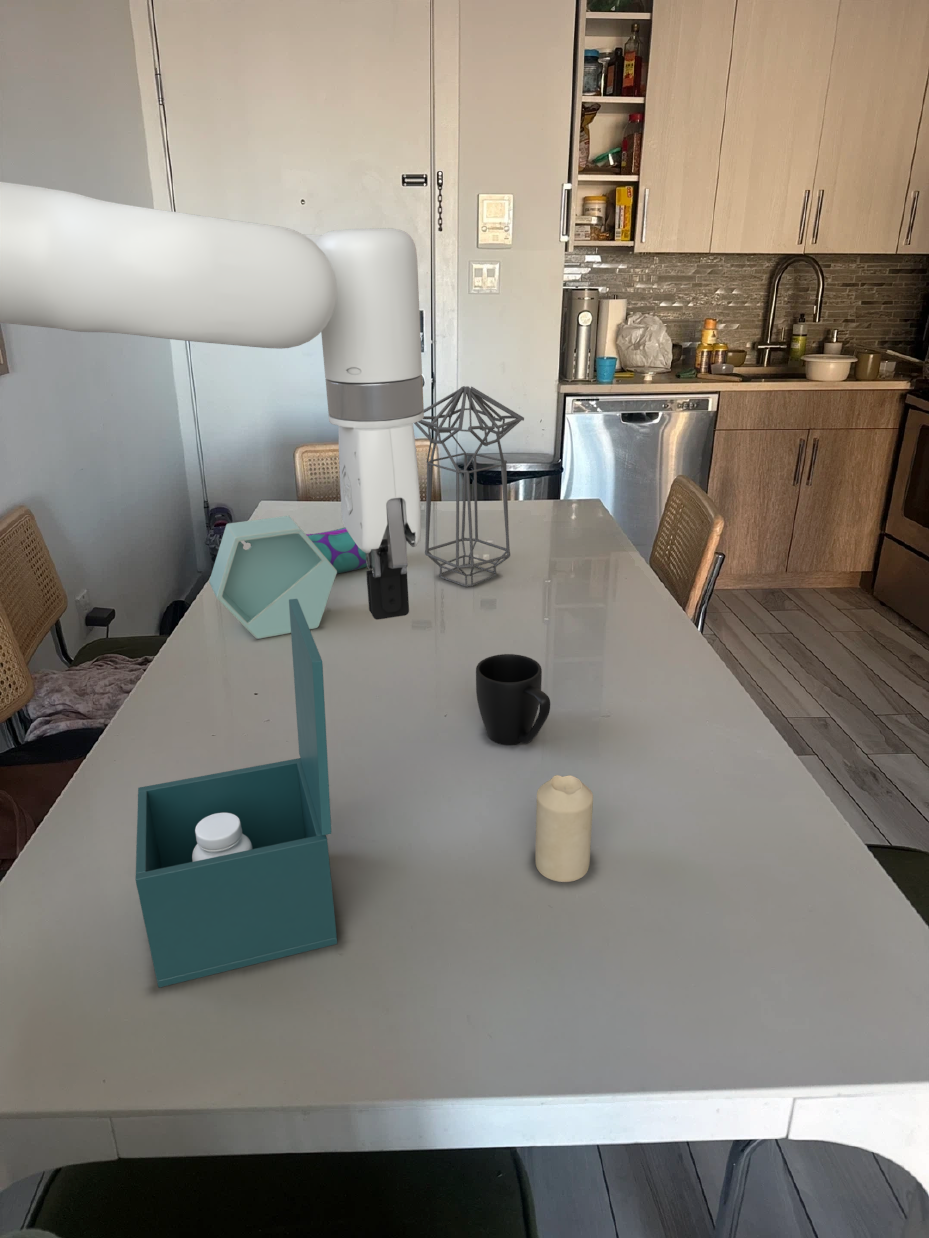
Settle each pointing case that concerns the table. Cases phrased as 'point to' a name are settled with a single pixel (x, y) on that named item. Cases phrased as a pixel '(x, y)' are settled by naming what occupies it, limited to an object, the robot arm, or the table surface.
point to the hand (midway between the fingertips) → (389, 613)
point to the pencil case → (339, 550)
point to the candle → (563, 828)
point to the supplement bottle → (219, 837)
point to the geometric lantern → (467, 473)
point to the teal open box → (232, 873)
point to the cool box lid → (310, 713)
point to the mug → (511, 698)
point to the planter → (271, 575)
